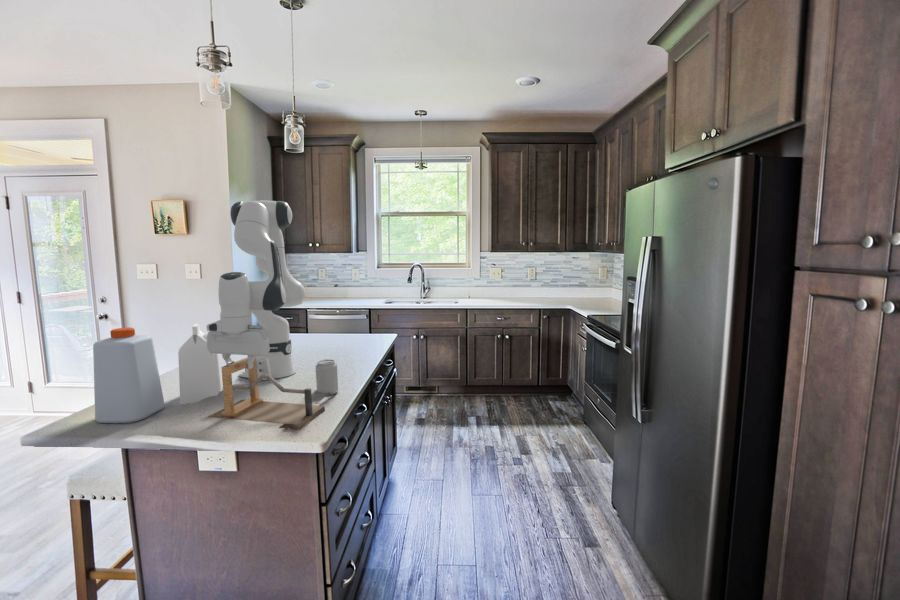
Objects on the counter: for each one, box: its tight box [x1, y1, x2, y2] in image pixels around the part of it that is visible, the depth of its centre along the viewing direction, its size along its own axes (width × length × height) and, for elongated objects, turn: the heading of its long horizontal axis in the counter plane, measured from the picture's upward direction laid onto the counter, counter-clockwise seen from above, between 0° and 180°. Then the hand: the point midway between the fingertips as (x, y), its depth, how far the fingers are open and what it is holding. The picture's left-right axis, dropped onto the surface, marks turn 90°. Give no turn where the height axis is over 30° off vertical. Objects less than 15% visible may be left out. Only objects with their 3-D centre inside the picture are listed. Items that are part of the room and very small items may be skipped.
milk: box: [177, 323, 223, 405], centre depth 152 cm, size 12×12×26 cm
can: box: [315, 358, 339, 397], centre depth 154 cm, size 8×8×12 cm
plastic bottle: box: [92, 327, 165, 424], centre depth 135 cm, size 15×15×28 cm
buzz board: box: [207, 375, 326, 430], centre depth 134 cm, size 31×15×13 cm, turn 77°
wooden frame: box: [220, 356, 264, 418], centre depth 136 cm, size 5×13×16 cm, turn 167°
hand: (240, 367), depth 135 cm, fingers open, 5 cm apart
